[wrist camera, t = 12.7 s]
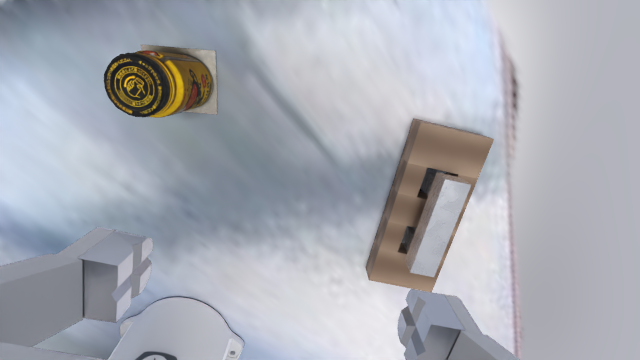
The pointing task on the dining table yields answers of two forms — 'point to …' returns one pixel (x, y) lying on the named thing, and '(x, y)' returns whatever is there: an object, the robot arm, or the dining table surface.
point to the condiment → (163, 81)
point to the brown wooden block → (422, 196)
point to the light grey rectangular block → (434, 222)
